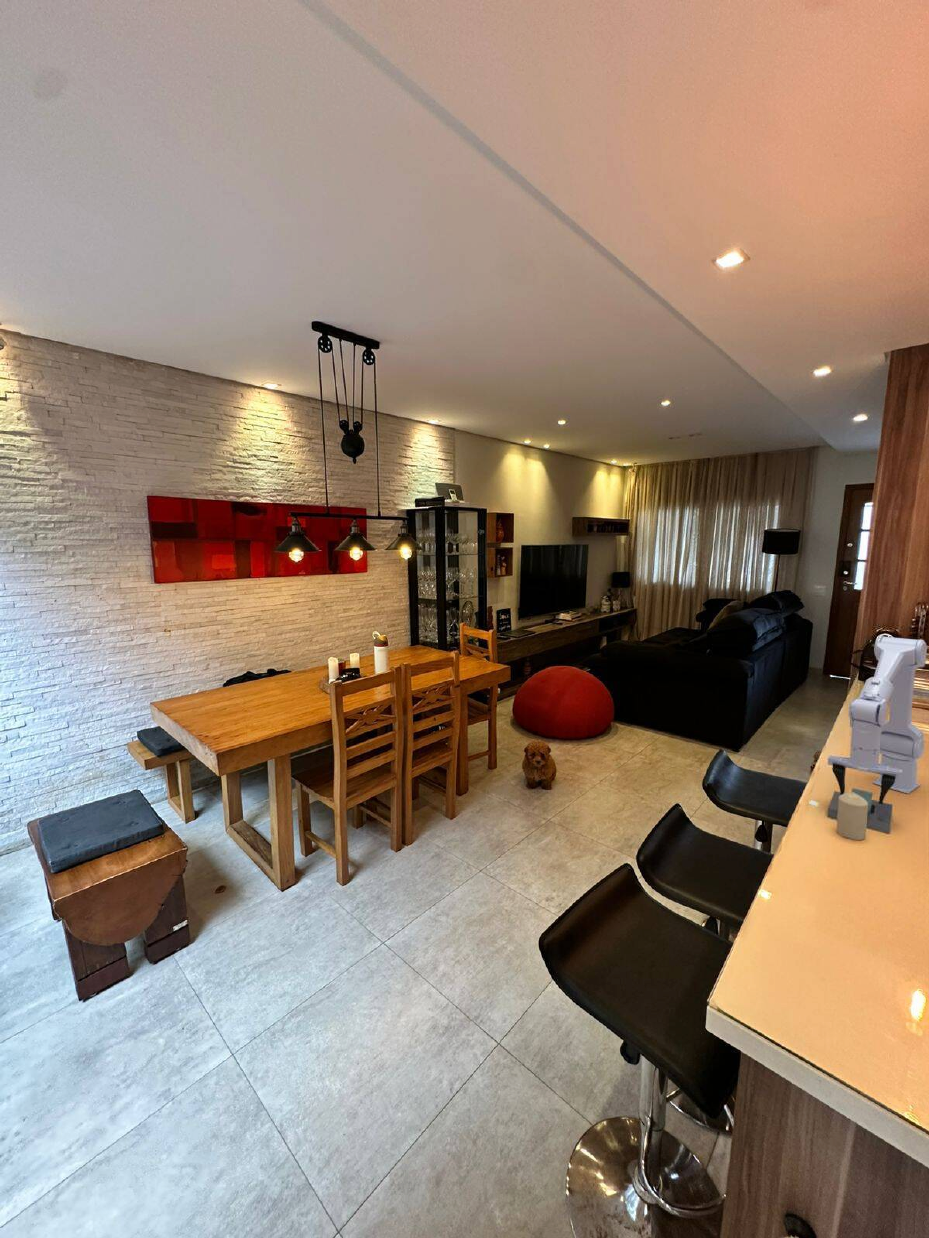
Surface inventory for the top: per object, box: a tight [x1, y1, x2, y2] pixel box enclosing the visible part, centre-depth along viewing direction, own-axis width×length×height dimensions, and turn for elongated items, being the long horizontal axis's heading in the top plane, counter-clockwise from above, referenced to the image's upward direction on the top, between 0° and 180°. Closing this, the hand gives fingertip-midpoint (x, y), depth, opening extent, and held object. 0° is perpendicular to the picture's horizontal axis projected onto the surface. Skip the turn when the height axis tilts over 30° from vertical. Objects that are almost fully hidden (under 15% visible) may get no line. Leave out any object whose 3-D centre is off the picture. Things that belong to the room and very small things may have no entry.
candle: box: [836, 791, 868, 841], centre depth 119 cm, size 6×6×10 cm
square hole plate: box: [827, 790, 893, 834], centre depth 127 cm, size 12×12×2 cm
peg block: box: [850, 787, 873, 813], centre depth 127 cm, size 4×4×6 cm
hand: (861, 797), depth 127 cm, fingers open, 7 cm apart
